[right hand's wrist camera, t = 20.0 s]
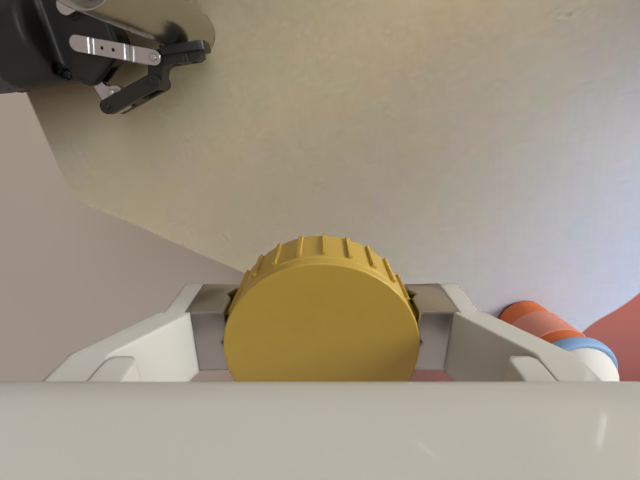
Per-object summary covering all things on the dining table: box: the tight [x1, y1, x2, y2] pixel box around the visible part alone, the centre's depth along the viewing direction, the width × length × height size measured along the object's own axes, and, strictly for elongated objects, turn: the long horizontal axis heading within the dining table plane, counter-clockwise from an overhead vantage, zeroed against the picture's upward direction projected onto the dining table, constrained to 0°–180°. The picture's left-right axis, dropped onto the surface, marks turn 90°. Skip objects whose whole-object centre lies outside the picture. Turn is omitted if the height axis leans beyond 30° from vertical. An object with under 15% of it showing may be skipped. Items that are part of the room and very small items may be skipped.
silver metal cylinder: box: [58, 0, 215, 49], centre depth 25 cm, size 4×4×19 cm
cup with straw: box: [499, 301, 619, 381], centre depth 38 cm, size 9×9×18 cm
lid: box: [223, 234, 420, 381], centre depth 9 cm, size 5×5×2 cm
